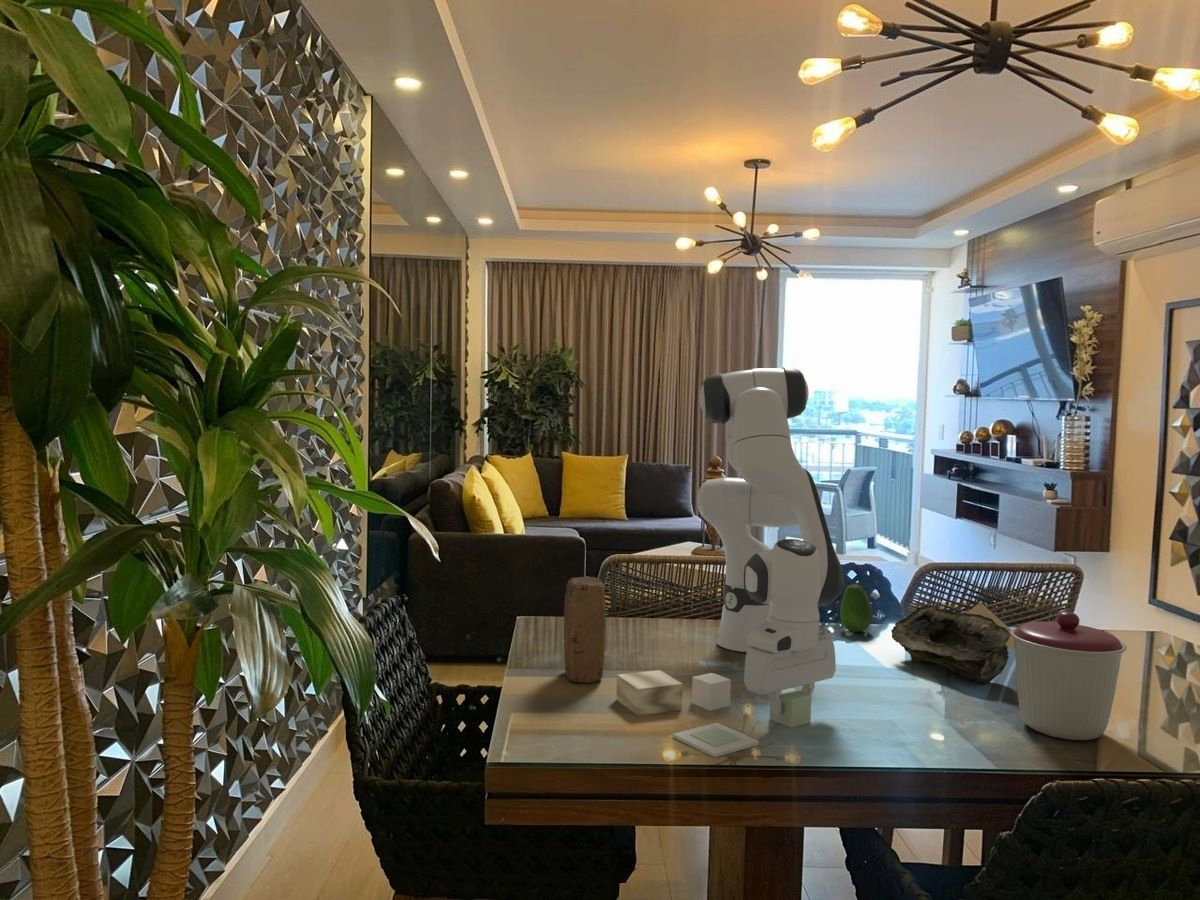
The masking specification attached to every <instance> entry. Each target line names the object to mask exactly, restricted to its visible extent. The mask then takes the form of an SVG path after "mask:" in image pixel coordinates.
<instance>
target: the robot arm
mask: <svg viewBox="0 0 1200 900" xmlns="http://www.w3.org/2000/svg"><path fill="white" fill-rule="evenodd" d="M808 386H809V385H808V382H807V381H806V379H805V376H804V373H802V371H800V369H798V368H793V367H788V366H783V367H782V368H776V367H773V368H771V367H770V368H769V367H765V368H764V367H763V368H762V367H759V368H758V367H757V368H756V367H755V368H751V369H745V370H737V371H731V372H725V373H721V372H718V373H714V374H711V375H709V376H706V377H705V379H703V381H702V386H701V388H700V392H699V405H700V409H701V411H702V413H703V414H704V415H703V416H704V418H705V419H707V420H708V422H711V423H713V424H717V425H724V426H725V446H726V447H725V448H726V449H725V450H726V459H727V462H728V464H729V465H730V466H731V467H732V468H733V469H734V470H735V471H737V473H738V474H739V476H740V477H729V476H728V477H725V476H724V477H718V478H712V479H707V480H705V481H704V482H703V483H702V484H701V486H700V488H699V489H698V492H697V495H696V506H697V509H698V513H699V514H700V516H701V517H702V518H703V519H704V520H705V521H706V522H707V523H709V525H711V526H712V527H713V528H714V530H715V531H716V533H718V535H719V537H720V539H721V542H722V545H723V549H724V554H725V556H724V557H725V582H724V583H723V589H722V590H723V591H722V592H723V593H722V596H723V597H722V599H723V602H724V603H723V606H722V612H721V618H720V625H719V630H718V632H717V639H716V644H717V645H718V646H719V647H722V648H724V649H726V650H730V651H734V652H735V651H736V652H742V653H746V654H745V661H744V662H745V663H744V675H743V676H744V678H743V681H744V686H745V687H746V689H747V691H748V692H750V693H753V694H756V695H759V696H764V695H767V697H768V699H769V701H771V703H772V706H771V711H772V713H774V714H776V715H779V714H783V713H784V711H785V710H784V708H785V704H783V703H781V701H780V698H779V696H781V692H782V690H785V689H789V688H796V687H800V686H801V690H800V691H803V692H805V693H808V694H811V695H812V694H813V692H814V690H815V686H816V685H815V684H816V683H817V682H821V681H826V680H830V679H832V678H833V677H834V676H835V673H836V670H837V669H836V661H837V660H836V649H835V644H834V641H833V633H832V632H831V630H830V629H828V627H826V626H822V627H820V617H821V616H820V612H819V606H821V607H822V606H823V607H827V606H829V605H831V604H832V603H833V602H834V601H835V600H836V599H837V598H838V597H839V596H840V594H841V593H842V591H843V589H844V586H845V574H844V570H843V567H842V564H841V562H840V559H839V557H838V555H837V553H836V551H835V547H834V545H833V541H832V538H831V535H830V531H829V527H828V523H827V520H826V517H825V513H824V510H823V506H822V502H821V498H820V495H819V492H818V489H817V486H816V483H815V480H814V478H813V476H812V473H810V471H809V470H807V469H805V468H804V467H803V466H802V465H801V464H800V462H799V460H798V459H797V456H796V454H795V452H794V450H793V446H792V440H791V431H790V426H789V420H790V419H791V418H795V417H798V416H801V414H803V412H804V411H805V410H806V408H807V407H806V406H807V403H808V402H809V401H808V400H809V393H810V392H809V387H808ZM788 419H789V420H788ZM796 526H799V529H800V534H801V537H802V540H800V539H797V538H784V539H781V540H778V541H776V542H775V543H774V545H773V548H770V546H768V544H767V545H766V544H765V543H764V542H762V541H760V540H758V539H757V538H755V537H754V536H752V534H751V532H750V530H749V528H750V527H763V528H764V527H765V528H787V527H788V528H789V527H796Z"/></svg>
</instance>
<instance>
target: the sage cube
mask: <svg viewBox="0 0 1200 900" xmlns="http://www.w3.org/2000/svg"><path fill="white" fill-rule="evenodd" d="M779 698H780V701H781V703H783V704H785V708H784V710H785V711H784V713H783V714H779V715H776V714H774V713H772V711H771V706H772V703H771V701H770V700H769V701H770V704H769V720H771V721H773V722H775V723H778V724H780V725H783V726H785V727H788V728H789V729H790V728H791V729H792V728H796V727H799V726H803V725H807V724H810V723H811V719H812V718H811V715H812V694H808V693H805V692H803V691H801V690H799V689H797V688H795V687H793V688H789V689H785V690H782V692H781V696H779Z"/></svg>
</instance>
